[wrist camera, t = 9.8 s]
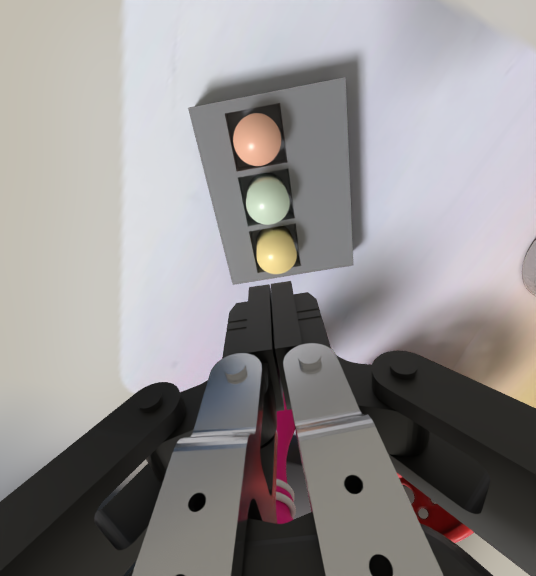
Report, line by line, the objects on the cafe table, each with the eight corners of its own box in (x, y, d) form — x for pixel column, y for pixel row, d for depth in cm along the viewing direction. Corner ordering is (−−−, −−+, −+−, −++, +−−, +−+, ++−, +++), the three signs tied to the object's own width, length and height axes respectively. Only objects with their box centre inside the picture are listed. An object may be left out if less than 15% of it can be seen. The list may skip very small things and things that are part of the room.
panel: (338, 79, 22) (345, 76, 20) (347, 255, 28) (353, 265, 26) (193, 108, 22) (188, 107, 20) (234, 273, 28) (232, 284, 27)
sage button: (283, 169, 24) (286, 177, 21) (288, 209, 25) (292, 220, 23) (243, 177, 24) (241, 185, 21) (251, 215, 26) (250, 228, 23)
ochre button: (290, 221, 26) (294, 234, 23) (294, 255, 27) (298, 270, 25) (253, 227, 26) (253, 241, 23) (260, 260, 27) (260, 277, 25)
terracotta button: (275, 109, 22) (277, 109, 19) (281, 155, 23) (284, 161, 21) (231, 117, 22) (228, 118, 19) (240, 162, 24) (238, 169, 21)
